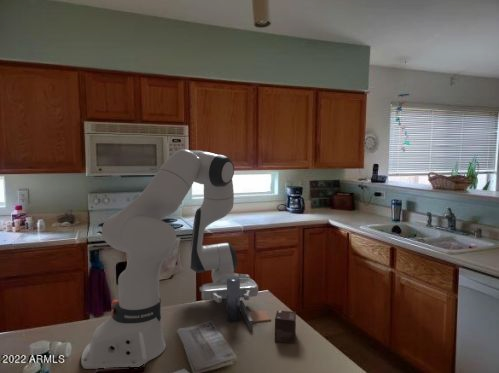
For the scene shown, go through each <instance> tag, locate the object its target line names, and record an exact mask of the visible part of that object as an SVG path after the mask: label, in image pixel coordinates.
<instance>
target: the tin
mask: <svg viewBox="0 0 499 373" xmlns="http://www.w3.org/2000/svg"><path fill="white" fill-rule="evenodd" d="M240 299H241V298H240V279H239V278H228V279H227V299H226V321H227V322H228V323H232V324H233V323H238V322H239V321H240V320H241V318H240V317H241V311H240Z"/></svg>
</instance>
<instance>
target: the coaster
mask: <svg viewBox="0 0 499 373" xmlns="http://www.w3.org/2000/svg"><path fill="white" fill-rule="evenodd" d="M248 313H249V315H250V316H251V318H252V320H253V323H262V322H272V319H271V317H270V315H269V314H268V312H267V311H266V309H265V310H255V311H248Z"/></svg>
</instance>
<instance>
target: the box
mask: <svg viewBox="0 0 499 373" xmlns="http://www.w3.org/2000/svg"><path fill="white" fill-rule="evenodd" d="M296 318H297V312H296V311H291V310H289V311H288V310H276V313H275V318H274V342H278V343H287V344H288V343H289V344H295V341H296V331H297V329H296V328H297V327H296V326H297V325H296V321H297V319H296Z"/></svg>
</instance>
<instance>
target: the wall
mask: <svg viewBox="0 0 499 373" xmlns="http://www.w3.org/2000/svg"><path fill="white" fill-rule="evenodd" d="M248 312H249V311H248V308H247V307H246V305H245V303H244V301H243V300H240V314H241V315H242V317H243V319H244V321H245V324H246V325H247V327H248V329H249V331H251V330H253V326H254V324H253V320H252V318H251V316H250V315H249V313H248Z"/></svg>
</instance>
